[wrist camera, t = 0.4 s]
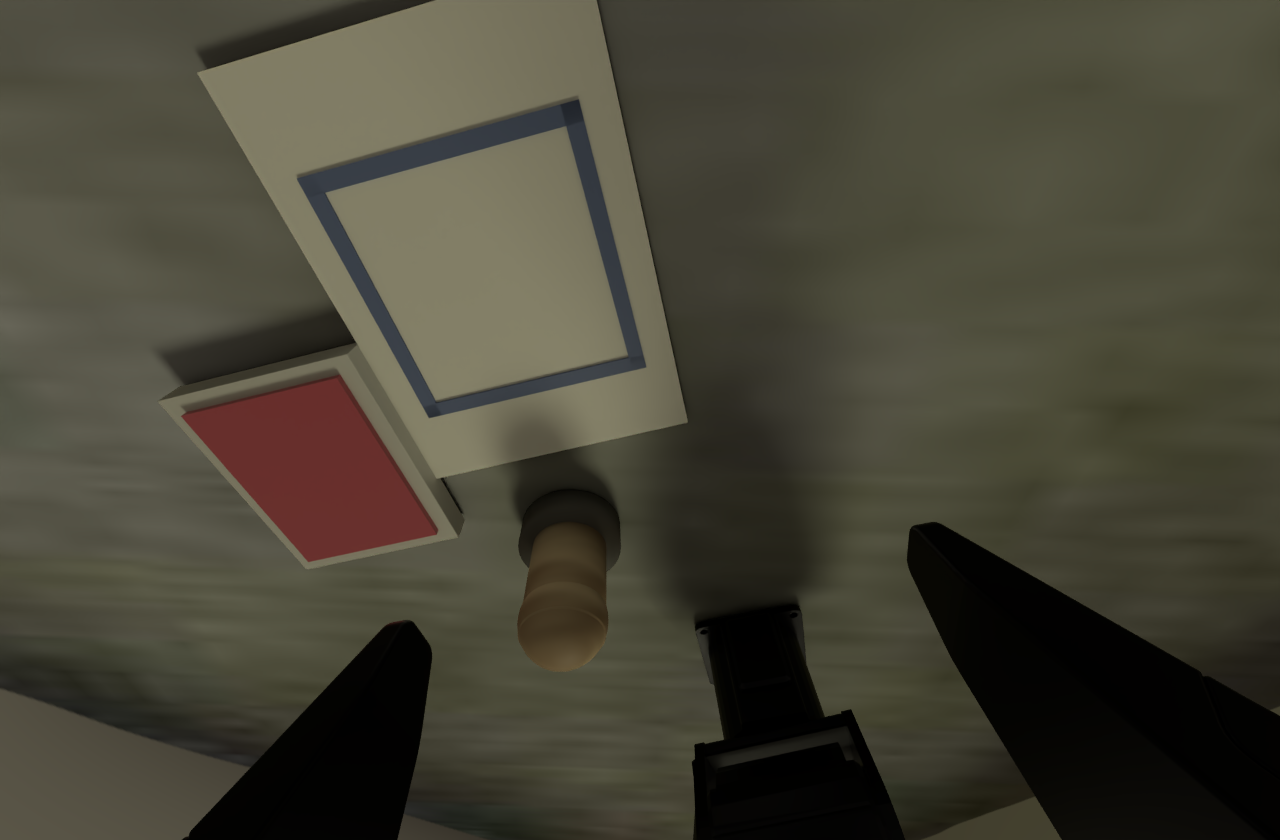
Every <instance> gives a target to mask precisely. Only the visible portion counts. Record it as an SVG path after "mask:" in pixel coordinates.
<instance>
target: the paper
mask: <svg viewBox="0 0 1280 840" xmlns="http://www.w3.org/2000/svg"><path fill="white" fill-rule="evenodd" d="M198 75H199V77H200V79H201V80H202V82H203V84H204V85H205V87H206V89H207V90H208V92H209V94H210V96H211V97H212V99H213V101H214V102H215V104H216V106H217V107H218V109H219V111H220V112H221V114H222V116H223V118H224V119H225V121H226V123H227V124H228V126H229V128H230V129H231V131H232V133H233V135H234V136H235V138H236V140H237V141H238V143H239V145H240V146H241V148H242V150H243V151H244V153H245V155H246V157H247V158H248V160H249V162H250V163H251V165H252V167H253V168H254V170H255V172H256V174H257V175H258V177H259V179H260V180H261V182H262V184H263V185H264V187H265V189H266V191H267V192H268V194H269V196H270V197H271V199H272V201H273V202H274V204H275V206H276V207H277V209H278V211H279V213H280V214H281V216H282V218H283V219H284V221H285V223H286V224H287V226H288V228H289V230H290V231H291V233H292V235H293V236H294V238H295V240H296V241H297V243H298V245H299V246H300V248H301V250H302V252H303V253H304V255H305V257H306V258H307V260H308V262H309V263H310V265H311V267H312V269H313V270H314V272H315V274H316V275H317V277H318V279H319V280H320V282H321V284H322V285H323V287H324V289H325V291H326V292H327V294H328V296H329V297H330V299H331V301H332V302H333V304H334V306H335V308H336V309H337V311H338V313H339V314H340V316H341V318H342V319H343V321H344V323H345V324H346V326H347V328H348V330H349V331H350V333H351V335H352V336H353V338H354V340H355V341H356V343H357V345H358V347H359V348H360V350H361V352H362V353H363V355H364V357H365V358H366V360H367V362H368V363H369V365H370V367H371V369H372V370H373V372H374V374H375V375H376V377H377V379H378V380H379V382H380V384H381V386H382V387H383V389H384V391H385V392H386V394H387V396H388V397H389V399H390V401H391V403H392V404H393V406H394V408H395V409H396V411H397V413H398V414H399V416H400V418H401V419H402V421H403V423H404V425H405V426H406V428H407V430H408V431H409V433H410V435H411V436H412V438H413V440H414V442H415V443H416V445H417V447H418V448H419V450H420V452H421V453H422V455H423V457H424V458H425V460H426V462H427V464H428V465H429V467H430V469H431V470H432V472H433V474H434V475H435V477H436V479H438V478H442V477H447V476H451V475H456V474H460V473H465V472H469V471H474V470H478V469H483V468H487V467H492V466H496V465H501V464H505V463H510V462H514V461H518V460H523V459H527V458H532V457H536V456H541V455H545V454H550V453H554V452H559V451H563V450H568V449H572V448H577V447H581V446H586V445H590V444H595V443H599V442H603V441H608V440H612V439H617V438H621V437H626V436H630V435H635V434H639V433H644V432H648V431H653V430H657V429H662V428H666V427H671V426H675V425H680V424H684V423H688V420H687V416H686V411H685V406H684V402H683V397H682V392H681V388H680V383H679V379H678V374H677V369H676V365H675V360H674V355H673V351H672V346H671V342H670V337H669V332H668V328H667V323H666V319H665V314H664V309H663V305H662V300H661V295H660V291H659V286H658V282H657V277H656V272H655V268H654V263H653V258H652V254H651V249H650V245H649V240H648V235H647V231H646V226H645V221H644V217H643V212H642V208H641V203H640V198H639V194H638V189H637V184H636V180H635V175H634V171H633V166H632V161H631V157H630V152H629V147H628V143H627V138H626V134H625V129H624V124H623V120H622V115H621V110H620V106H619V101H618V97H617V92H616V87H615V83H614V78H613V74H612V69H611V64H610V60H609V55H608V50H607V46H606V41H605V37H604V32H603V27H602V23H601V18H600V13H599V9H598V4H597V0H435V1H431V2H428V3H425V4H421V5H418V6H415V7H412V8H408V9H405V10H402V11H398V12H395V13H392V14H389V15H385V16H382V17H379V18H375V19H372V20H369V21H365V22H362V23H359V24H356V25H352V26H349V27H346V28H342V29H339V30H336V31H333V32H329V33H326V34H323V35H319V36H316V37H313V38H310V39H306V40H303V41H300V42H296V43H293V44H290V45H287V46H283V47H280V48H277V49H273V50H270V51H267V52H264V53H260V54H257V55H254V56H250V57H247V58H244V59H241V60H237V61H234V62H231V63H227V64H224V65H221V66H217V67H214V68H211V69H208V70H204V71H201V72H198Z"/></svg>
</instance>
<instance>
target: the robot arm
mask: <svg viewBox="0 0 1280 840" xmlns="http://www.w3.org/2000/svg"><path fill="white" fill-rule="evenodd" d="M907 563H908V568H909V570H910V573H911V575H912V577H913V579H914V581H915V584H916V586H917V588H918V590H919V592H920V594H921V596H922V598H923V600H924V602H925V605H926V607H927V609H928V611H929V613H930V615H931V617H932V619H933V621H934V623H935V626H936V628H937V630H938V632H939V634H940V636H941V638H942V640H943V642H944V644H945V646H946V648H947V650H948V652H949V654H950V656H951V658H952V660H953V662H954V663H955V665H956V667H957V669H958V670H959V672H960V674H961V675H962V677H963V679H964V680H965V682H966V684H967V685H968V687H969V688H970V690H971V692H972V693H973V695H974V697H975V698H976V700H977V702H978V703H979V705H980V706H981V708H982V710H983V711H984V713H985V715H986V716H987V718H988V720H989V721H990V723H991V724H992V726H993V728H994V729H995V731H996V733H997V734H998V736H999V738H1000V739H1001V741H1002V742H1003V744H1004V746H1005V747H1006V749H1007V751H1008V752H1009V754H1010V756H1011V757H1012V759H1013V760H1014V762H1015V764H1016V765H1017V767H1018V769H1019V770H1020V772H1021V774H1022V775H1023V777H1024V778H1025V780H1026V782H1027V783H1028V785H1029V787H1030V788H1031V790H1032V792H1033V793H1034V795H1035V796H1036V798H1037V800H1038V801H1039V803H1040V805H1041V806H1042V808H1043V810H1044V811H1045V813H1046V814H1047V816H1048V818H1049V819H1050V821H1051V823H1052V824H1053V826H1054V827H1055V829H1056V831H1057V833H1058V834H1059V836H1060V837H1061V839H1062V840H1280V716H1279V715H1277V714H1275V713H1274V712H1272V711H1270V710H1268V709H1266V708H1265V707H1263V706H1261V705H1259V704H1257V703H1256V702H1254V701H1252V700H1250V699H1248V698H1246V697H1245V696H1243V695H1241V694H1239V693H1238V692H1236V691H1234V690H1232V689H1231V688H1229V687H1227V686H1225V685H1224V684H1222V683H1220V682H1218V681H1217V680H1215V679H1213V678H1211V677H1209V676H1204V677H1203V675H1202V673H1201V672H1200V671H1199V670H1197V669H1195V668H1193V667H1192V666H1190V665H1188V664H1186V663H1185V662H1183V661H1181V660H1179V659H1178V658H1176V657H1174V656H1172V655H1171V654H1169V653H1167V652H1165V651H1164V650H1162V649H1160V648H1158V647H1156V646H1155V645H1153V644H1151V643H1149V642H1148V641H1146V640H1144V639H1142V638H1141V637H1139V636H1137V635H1135V634H1134V633H1132V632H1130V631H1128V630H1127V629H1125V628H1123V627H1121V626H1120V625H1118V624H1116V623H1114V622H1113V621H1111V620H1109V619H1107V618H1106V617H1104V616H1102V615H1100V614H1099V613H1097V612H1095V611H1093V610H1091V609H1090V608H1088V607H1086V606H1084V605H1083V604H1081V603H1079V602H1077V601H1076V600H1074V599H1072V598H1070V597H1069V596H1067V595H1065V594H1063V593H1062V592H1060V591H1058V590H1056V589H1055V588H1053V587H1051V586H1049V585H1048V584H1046V583H1044V582H1042V581H1041V580H1039V579H1037V578H1035V577H1034V576H1032V575H1030V574H1028V573H1026V572H1025V571H1023V570H1021V569H1019V568H1018V567H1016V566H1014V565H1012V564H1011V563H1009V562H1007V561H1005V560H1004V559H1002V558H1000V557H998V556H997V555H995V554H993V553H991V552H990V551H988V550H986V549H984V548H983V547H981V546H979V545H977V544H976V543H974V542H972V541H970V540H969V539H967V538H965V537H963V536H961V535H960V534H958V533H956V532H954V531H953V530H951V529H949V528H947V527H946V526H944V525H942V524H940V523H937V522H929V523H924V524H919V525H914V526H912V527H911V529H910V532H909V541H908V552H907ZM695 631H696V635H697V639H698V642H699V646H700V649H701V653H702V657H703V660H704V664H705V667H706V671H707V674H708V678H709V681H710V683H711V684H713V685H714V686H715V692H716V697H717V703H718V708H719V714H720V720H721V725H722V731H723V736H724V740H721V741H716V742H712V743H707V744H705V743H704V742H703V743H699V744H695V746H694V747H695V759H694V760H693V761H692V768H693V776H694V794H695V819H694V835H693V840H905V838H904V835H903V832H902V829H901V826H900V824H899V821H898V818H897V816H896V813H895V810H894V808H893V805H892V803H891V800H890V798H889V795H888V793H887V790H886V788H885V786H884V783H883V781H882V779H881V776H880V774H879V772H878V770H877V767H876V765H875V763H874V760H873V758H872V756H871V754H870V751H869V749H868V747H867V745H866V742H865V740H864V738H863V735H862V733H861V731H860V729H859V726H858V724H857V722H856V719H855V717H854V715H853V713H852V710H851V709H850V710H845V711H841V714H837V715H832V716H828V717H825V716H824V713H823V710H822V707H821V704H820V702H819V699H818V696H817V693H816V690H815V687H814V685H813V682H812V679H811V676H810V673H809V670H808V668H807V665H806V655H805V643H804V632H803V621H802V613H801V610H800V608H799V606H798V605H794V604H793V605H787V606H781V607H776V608H771V609H766V610H760V611H755V612H750V613H745V614H739V615H734V616H729V617H724V618H719V619H713V620H708V621H703V622H699V623H698V624H696V626H695ZM431 663H432V650H431V647H430V645H429V643H428V642H427V640H426V639H425V637H424V636H423V635H422V633H421V632H420V630H419V629H418V628H417V626H416V625H415V623H414V622H412V621H410V620H403V621H398V622H393V623H389V624H387V625H386V626H385V627H383V628H382V629H381V630H380V632H379V633H378V634H377V635H376V636H375V637H374V638H373V639H372V640H371V641H370V642H369V643H368V644H367V645H366V646H365V647H364V648H363V649H362V651H361V652H360V653H359V654H358V655H357V656H356V657H355V658H354V659H353V660H352V661H351V662H350V663H349V664H348V665H347V666H346V667H345V669H344V670H343V671H342V672H341V673H340V674H339V675H338V676H337V677H336V678H335V679H334V680H333V681H332V682H331V683H330V684H329V685H328V686H327V688H326V689H325V690H324V691H323V692H322V693H321V694H320V695H319V696H318V697H317V698H316V699H315V700H314V701H313V702H312V703H311V704H310V705H309V707H308V708H307V709H306V710H305V711H304V712H303V713H302V714H301V715H300V716H299V717H298V718H297V719H296V720H295V721H294V722H293V723H292V725H291V726H290V727H289V728H288V729H287V730H286V731H285V732H284V733H283V734H282V735H281V736H280V737H279V738H278V739H277V740H276V741H275V742H274V744H273V745H272V746H271V747H270V748H269V749H268V750H267V751H266V752H265V753H264V754H263V755H262V756H261V757H260V758H259V759H258V760H257V762H256V763H255V764H254V765H253V766H252V767H251V768H250V769H249V770H248V771H247V772H246V773H245V774H244V775H243V776H242V777H241V778H240V779H239V781H238V782H237V783H236V784H235V785H234V786H233V787H232V788H231V789H230V790H229V791H228V792H227V793H226V794H225V795H224V796H223V797H222V798H221V800H220V801H219V802H218V803H217V804H216V805H215V806H214V807H213V808H212V809H211V810H210V811H209V812H208V813H207V814H206V815H205V816H204V817H203V819H202V820H201V821H200V822H199V823H198V824H197V825H196V826H195V827H194V828H193V829H192V830H191V832H190V833H189V837H185V838H183V839H182V840H397V838H398V834H399V830H400V826H401V822H402V818H403V814H404V810H405V805H406V801H407V797H408V793H409V789H410V784H411V780H412V776H413V772H414V768H415V764H416V759H417V755H418V750H419V745H420V739H421V733H422V727H423V720H424V713H425V705H426V698H427V691H428V684H429V677H430V670H431Z"/></svg>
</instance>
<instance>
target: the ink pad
mask: <svg viewBox="0 0 1280 840" xmlns="http://www.w3.org/2000/svg"><path fill="white" fill-rule="evenodd" d="M157 402H158V403H159V404H160V405H161V406H162V407H163V408H164V409H165V411H166V412H167V413H168V414H169V415H170V416H171V417H172V418H173V420H174V421H175V422H176V423H177V424H178V425H179V426H180V427H181V429H182V430H183V431H184V432H185V433H186V434H187V435H188V436H189V438H190V439H191V440H192V441H193V442H194V443H195V444H196V446H197V447H198V448H199V449H200V450H201V451H202V452H203V453H204V455H205V456H206V457H207V458H208V459H209V460H210V461H211V462H212V464H213V465H214V466H215V467H216V468H217V469H218V470H219V471H220V473H221V474H222V475H223V476H224V477H225V478H226V479H227V480H228V482H229V483H230V484H231V485H232V486H233V487H234V488H235V489H236V491H237V492H238V493H239V494H240V495H241V496H242V497H243V498H244V500H245V501H246V502H247V503H248V504H249V505H250V506H251V507H252V509H253V510H254V511H255V512H256V513H257V514H258V515H259V516H260V518H261V519H262V520H263V521H264V522H265V523H266V524H267V525H268V527H269V528H270V529H271V530H272V531H273V532H274V533H275V535H276V536H277V537H278V538H279V539H280V540H281V541H282V542H283V544H284V545H285V546H286V547H287V548H288V549H289V550H290V551H291V553H292V554H293V555H294V556H295V557H296V558H297V559H298V560H299V562H300V563H301V564H302V565H303V566H304V567H305V568H306V569H312V568H317V567H321V566H326V565H331V564H335V563H340V562H345V561H350V560H354V559H359V558H364V557H368V556H373V555H378V554H382V553H387V552H392V551H397V550H401V549H406V548H411V547H415V546H420V545H425V544H429V543H434V542H439V541H443V540H448V539H453V538H458V537H459V535H460V532H461V529H462V526H463V523H464V518H463V516H462V514H461V513H460V511H459V509H458V508H457V506H456V504H455V502H454V501H453V499H452V497H451V496H450V494H449V492H448V490H447V489H446V487H445V485H444V484H443V482H442V480H441V478H438V479H436V477H435V475H434V474H433V472H432V470H431V469H430V467H429V465H428V464H427V462H426V460H425V458H424V457H423V455H422V453H421V452H420V450H419V448H418V447H417V445H416V443H415V442H414V440H413V438H412V436H411V435H410V433H409V431H408V430H407V428H406V426H405V425H404V423H403V421H402V419H401V418H400V416H399V414H398V413H397V411H396V409H395V408H394V406H393V404H392V403H391V401H390V399H389V397H388V396H387V394H386V392H385V391H384V389H383V387H382V386H381V384H380V382H379V380H378V379H377V377H376V375H375V374H374V372H373V370H372V369H371V367H370V365H369V363H368V362H367V360H366V358H365V357H364V355H363V353H362V352H361V350H360V348H359V347H358V345H357V343H353V344H349V345H345V346H341V347H337V348H333V349H329V350H325V351H321V352H317V353H313V354H309V355H305V356H301V357H297V358H293V359H289V360H285V361H281V362H277V363H273V364H269V365H265V366H261V367H257V368H253V369H249V370H245V371H241V372H236V373H232V374H228V375H224V376H220V377H216V378H212V379H208V380H204V381H200V382H196V383H192V384H188V385H184V386H180V387H178V388H177V389H175V390H174V391H172V392H171V393H169V394H168V395H166V396H165V397H163V398H162V399H160V400H159V401H157Z"/></svg>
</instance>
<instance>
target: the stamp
mask: <svg viewBox="0 0 1280 840" xmlns="http://www.w3.org/2000/svg"><path fill="white" fill-rule="evenodd" d="M518 547H519V553H520V556H521V558H522V560H523V562H524V563H525V564H526V565H527V567H528V568H529V572H528V578H527V583H526V589H525V595H524V601H523V604H522V606H521V608H520V612H519V616H518V623H517V626H518V640H519V642H520V644H521V646H522V648H523V650H524V651H525V653H526V654H527V656H528V657H529V658H530V659H531V660H532V661H533V662H534V663H536V664H537V665H538V666H540V667H542V668H544V669H547V670H551V671H556V672H565V671H570V670H574V669H577V668H579V667H581V666H583V665H584V664H586V663H587V662H589V661H590V660H591V659H592V658H593V657H594V656H595V655H596V654H597V652H598V651H599V650H600V648H601V647H602V646H603V644H604V642H605V639H606V634H607V630H608V611H607V607H606V572H607V571H608V570H610V569H611V568H612V567H613V566H614V564H615V563H616V562H617V560H618V558H619V555H620V549H621V542H620V521H619V517H618V515H617V513H616V511H615V510H614V508H613V507H612V506H611V505H610V504H609V503H608V502H607V501H605V500H604V499H602V498H601V497H599V496H597V495H595V494H592V493H589V492H585V491H579V490H562V491H556V492H552V493H549V494H547V495H544V496H542V497H541V498H539V499H537V500H536V501H535V502H534V503H533V504H532V505H531V506H530V507H529V508H528V509H527V511H526V513H525V516H524V519H523V524H522V529H521V533H520V538H519V544H518Z"/></svg>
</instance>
